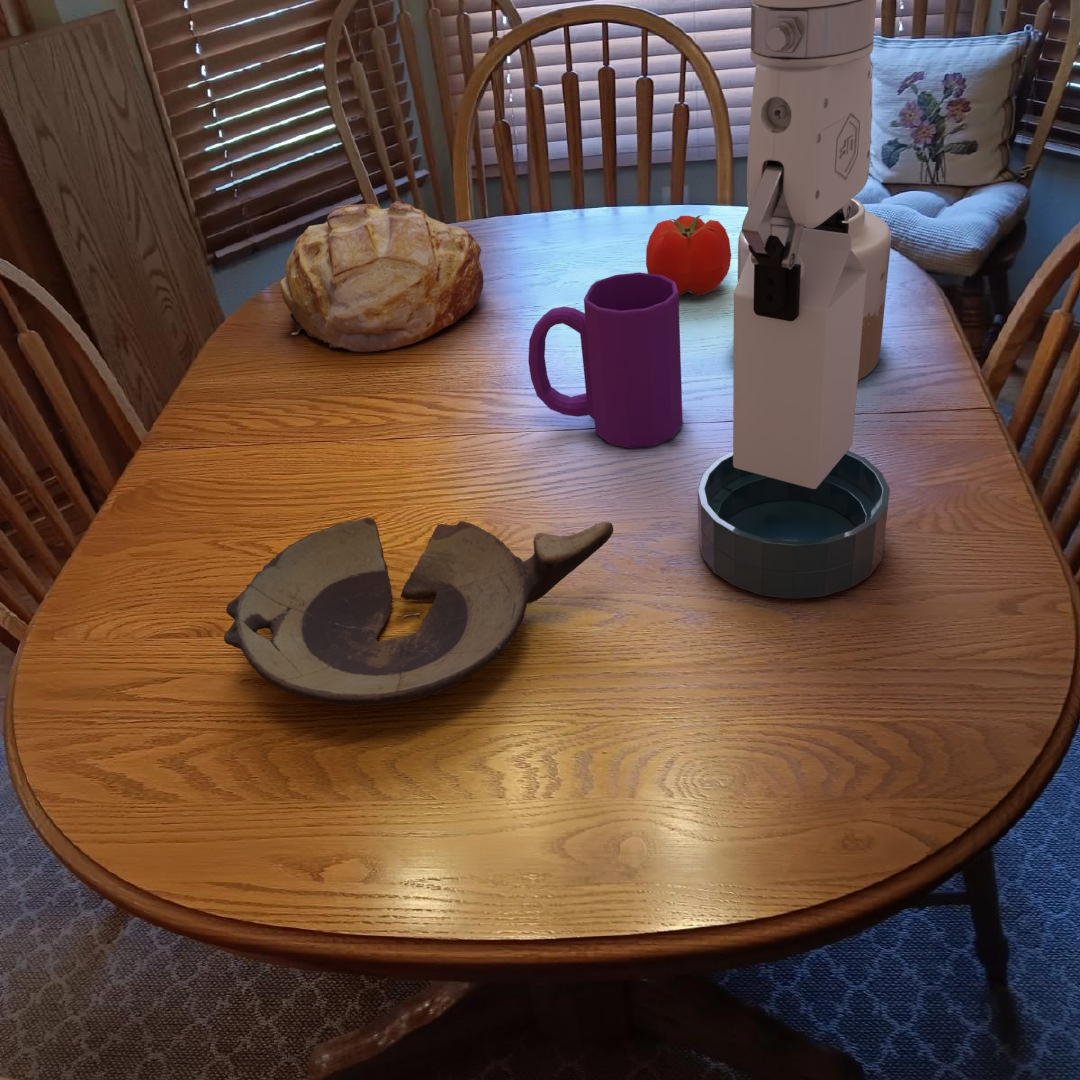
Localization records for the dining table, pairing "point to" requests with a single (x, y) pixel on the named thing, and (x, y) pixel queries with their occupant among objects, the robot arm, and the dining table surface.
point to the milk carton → (799, 366)
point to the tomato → (689, 253)
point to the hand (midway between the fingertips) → (800, 293)
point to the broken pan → (365, 603)
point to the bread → (380, 277)
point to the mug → (621, 359)
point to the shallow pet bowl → (793, 528)
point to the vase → (874, 256)
